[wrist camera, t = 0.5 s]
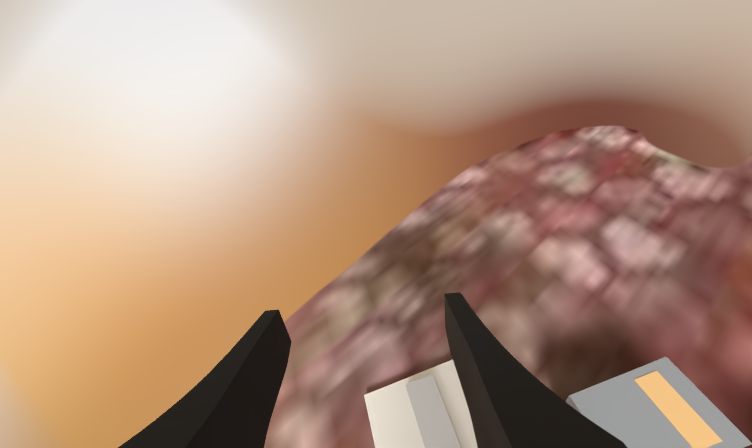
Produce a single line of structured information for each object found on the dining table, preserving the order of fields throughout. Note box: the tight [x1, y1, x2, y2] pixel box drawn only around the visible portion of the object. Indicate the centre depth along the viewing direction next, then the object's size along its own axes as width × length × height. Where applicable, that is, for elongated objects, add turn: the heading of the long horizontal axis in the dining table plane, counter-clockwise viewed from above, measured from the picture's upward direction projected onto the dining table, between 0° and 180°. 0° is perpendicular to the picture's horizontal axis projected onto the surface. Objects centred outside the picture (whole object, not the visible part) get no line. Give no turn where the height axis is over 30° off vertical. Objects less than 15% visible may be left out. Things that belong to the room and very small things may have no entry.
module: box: [566, 357, 752, 448], centre depth 20 cm, size 5×7×6 cm
